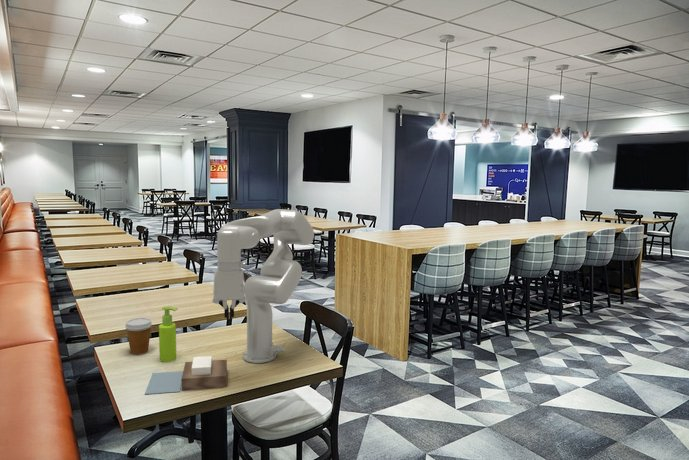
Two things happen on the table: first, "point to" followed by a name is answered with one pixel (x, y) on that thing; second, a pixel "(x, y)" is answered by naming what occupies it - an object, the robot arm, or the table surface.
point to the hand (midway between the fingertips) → (229, 319)
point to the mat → (164, 383)
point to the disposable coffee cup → (138, 335)
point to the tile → (202, 365)
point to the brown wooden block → (205, 376)
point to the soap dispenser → (167, 336)
